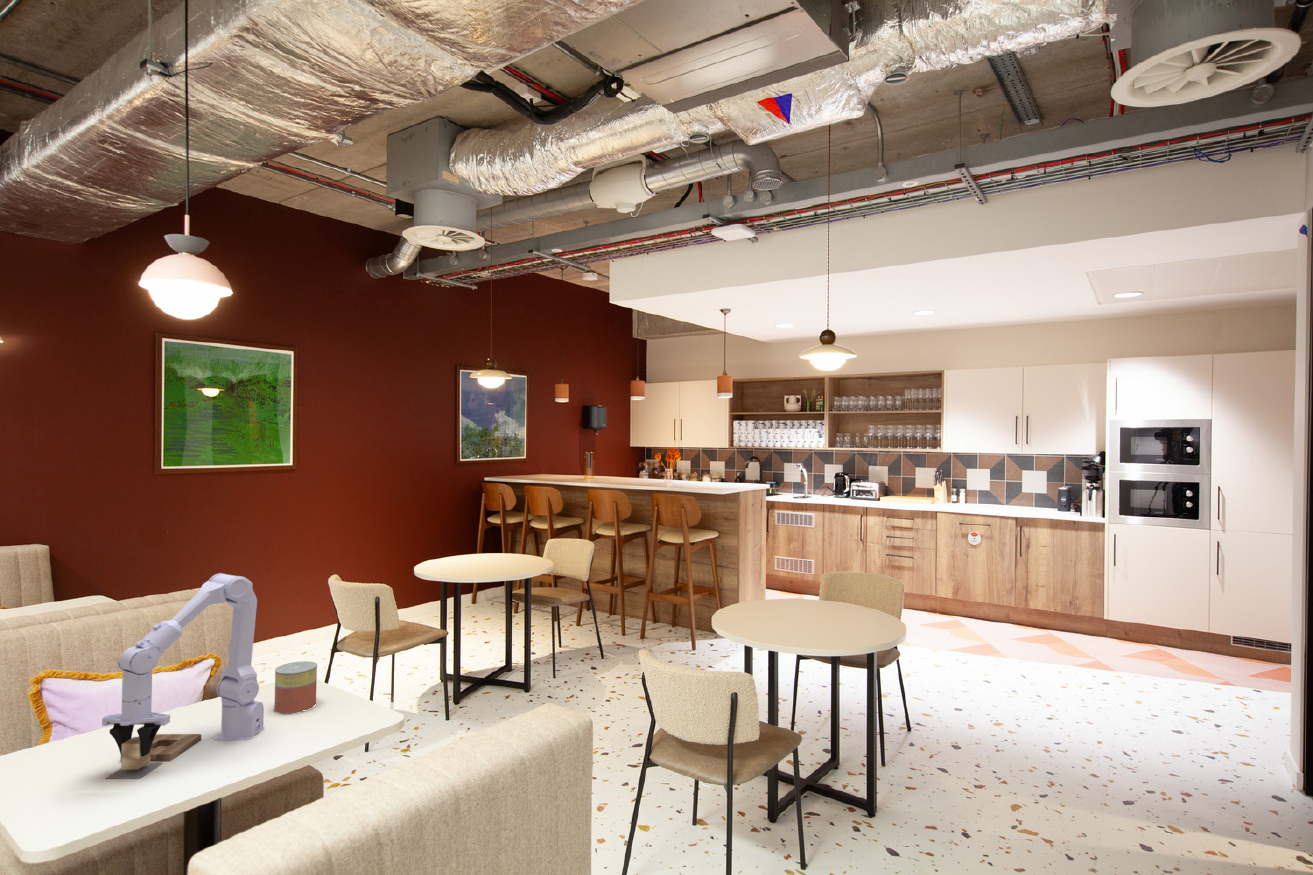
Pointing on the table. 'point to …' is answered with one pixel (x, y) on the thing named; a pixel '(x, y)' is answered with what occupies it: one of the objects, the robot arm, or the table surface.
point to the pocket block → (172, 745)
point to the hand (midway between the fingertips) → (135, 754)
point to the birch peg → (133, 755)
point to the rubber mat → (134, 772)
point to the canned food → (295, 687)
